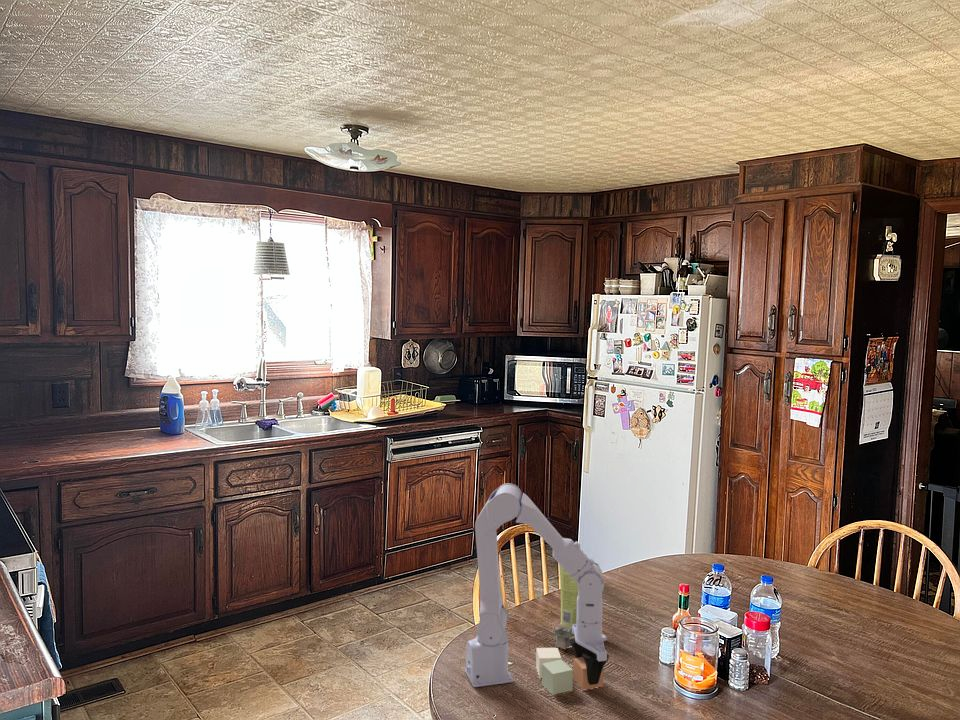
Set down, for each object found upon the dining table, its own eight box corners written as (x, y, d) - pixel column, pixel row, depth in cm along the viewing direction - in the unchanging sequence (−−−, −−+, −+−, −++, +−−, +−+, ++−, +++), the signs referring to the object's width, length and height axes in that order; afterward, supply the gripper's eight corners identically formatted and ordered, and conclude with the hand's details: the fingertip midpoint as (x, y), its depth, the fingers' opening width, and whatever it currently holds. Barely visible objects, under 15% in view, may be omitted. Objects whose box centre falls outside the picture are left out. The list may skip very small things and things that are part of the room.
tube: (571, 619, 196) (572, 549, 195) (585, 625, 192) (586, 554, 191) (556, 625, 193) (557, 553, 191) (570, 631, 189) (571, 558, 187)
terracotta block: (582, 690, 160) (582, 668, 159) (573, 679, 164) (573, 658, 164) (602, 687, 161) (603, 666, 161) (593, 676, 166) (593, 655, 165)
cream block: (539, 679, 164) (539, 658, 164) (536, 668, 169) (536, 648, 169) (561, 679, 165) (561, 657, 164) (557, 668, 170) (557, 647, 169)
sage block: (552, 696, 157) (553, 674, 157) (541, 685, 162) (541, 663, 162) (572, 691, 159) (572, 669, 159) (561, 680, 164) (561, 659, 164)
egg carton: (554, 651, 178) (554, 635, 178) (553, 637, 186) (553, 622, 186) (598, 652, 178) (598, 636, 177) (595, 638, 185) (595, 623, 185)
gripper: (620, 630, 156) (619, 691, 157) (592, 604, 170) (590, 659, 171) (590, 634, 154) (589, 695, 155) (564, 607, 168) (563, 663, 169)
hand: (588, 677), depth 163 cm, fingers closed on terracotta block, 5 cm apart
